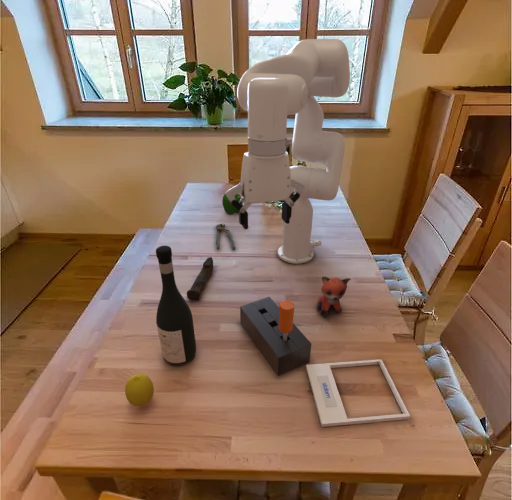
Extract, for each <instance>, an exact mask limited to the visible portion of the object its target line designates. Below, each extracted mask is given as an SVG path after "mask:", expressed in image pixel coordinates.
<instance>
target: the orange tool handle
mask: <svg viewBox="0 0 512 500" xmlns="http://www.w3.org/2000/svg"><path fill="white" fill-rule="evenodd" d="M294 315H295V303H294V302H293V301H291V300H289V299H285V300H282V301H280V303H279V330H280V331H281V332H282V333H283V342H285V341H287V334H288V333H290V332H291V331H292V330H293V324H294Z"/></svg>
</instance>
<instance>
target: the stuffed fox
mask: <svg viewBox="0 0 512 500" xmlns="http://www.w3.org/2000/svg"><path fill="white" fill-rule="evenodd" d="M321 281H322V284H321V285H320V291H321V293H322V294H321V295H320V296H319V298H318V299H317V306H316V307H317V309H318V311H319V312H320V316H321V317H324V318H327V317H326V316H327V315H328V314H329V312H330V308H331V306H332V307H333V309H334V310H335V312H336V313H343V309H342V306H341V302H340V300H341V299H343V297H344V296H345V294H346V291H347V288H348V283H349V281H351V278H349V277H346V278H343V279H342V278H339V277H331V278H329V277H327V276H325V275H324V276H321Z"/></svg>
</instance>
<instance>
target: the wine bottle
mask: <svg viewBox="0 0 512 500" xmlns="http://www.w3.org/2000/svg"><path fill="white" fill-rule="evenodd" d="M155 254H156V255H155V257H156V258H157V261H158V266H159V272H160V278H161V284H162V287H161V288H162V291H161V296H160V299H159V302H158V305H157V308H156V318H155V323H156V329H157V333H158V338H159V343H160V350H161V355H162V357H163V359H164V361H165V362H166V363H168V365H172V366H182V365H185V364H187V363H189V362H191V361H192V360H193V359H194V358H195V355H196V353H197V342H196V341H197V340H196V334H195V326H194V325H195V324H194V317H193V313H192V310H191V308H190V306H189V304H188V302H187V301H186V300H185V298H184V296H183V295H182V294H181V292H180V290H179V289H178V286H177V284H176V278H175V271H174V263H173V257H172V256H173V250H172V248H171V247H170V246H169V245H160V246H157V248H156V249H155Z"/></svg>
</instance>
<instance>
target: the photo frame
mask: <svg viewBox="0 0 512 500" xmlns="http://www.w3.org/2000/svg"><path fill="white" fill-rule="evenodd" d="M373 365H374V366H375V365H379V367H380V369H381V371H382V373H383V375H384V378H385V379H386V381H387V384H388V386H389V387H390V390H391V392H392V394H393V396H394V398H395V400H396V402H397V404H398V406H399V408H400V410H401V412H402V413H397V414H384V415H383V414H382V415H373V416H361V417H349V418H348V416H347V413H346V410H345V407H344V405H343V401H342V399H341V396H340V393H339V390H338V387H337V383H336V380H335V378H334V375H333V372H332V369H333V368H334V369H335V368H336V369H337V368H347V367H360V366H361V367H362V366H373ZM305 370H306V374H307V378H308V380H309V385H310V389H311V392H312V396H313V400H314V404H315V408H316V411H317V415H318V419H319V423H320V426H321V427H322V428H325V427H334V426H336V427H337V426H347V425H348V426H349V425H357V424H368V423H379V422H381V423H382V422H392V421H402V420H410V419H411V414H410V413H409V411H408V409H407V407H406V405H405V402H404V401H403V399H402V397H401V395H400V393H399V392H398V389H397V387H396V385H395V383H394V381H393V379H392V377H391V375H390V373H389V371H388V369H387V367H386V365H385V363H384V360H383V359H382V358H378V359H364V360H353V361H351V360H350V361H338V362H327V363H326V362H324V363H312V364H305Z"/></svg>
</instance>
